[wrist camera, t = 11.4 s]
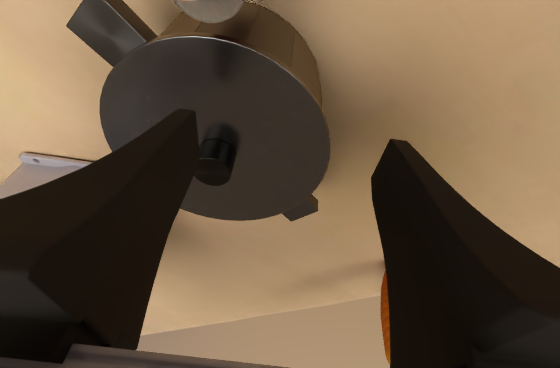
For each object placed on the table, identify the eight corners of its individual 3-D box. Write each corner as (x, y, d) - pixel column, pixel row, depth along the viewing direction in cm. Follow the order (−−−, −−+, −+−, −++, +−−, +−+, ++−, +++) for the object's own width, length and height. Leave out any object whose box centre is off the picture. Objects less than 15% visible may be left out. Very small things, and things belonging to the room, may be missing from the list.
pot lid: (223, 227, 22) (216, 257, 21) (68, 119, 16) (38, 148, 14) (368, 163, 17) (375, 196, 15) (217, -48, 10) (198, -33, 8)
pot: (256, 188, 28) (246, 246, 23) (87, 40, 19) (17, 88, 14) (366, 133, 22) (380, 195, 18) (203, -113, 13) (148, -111, 9)
